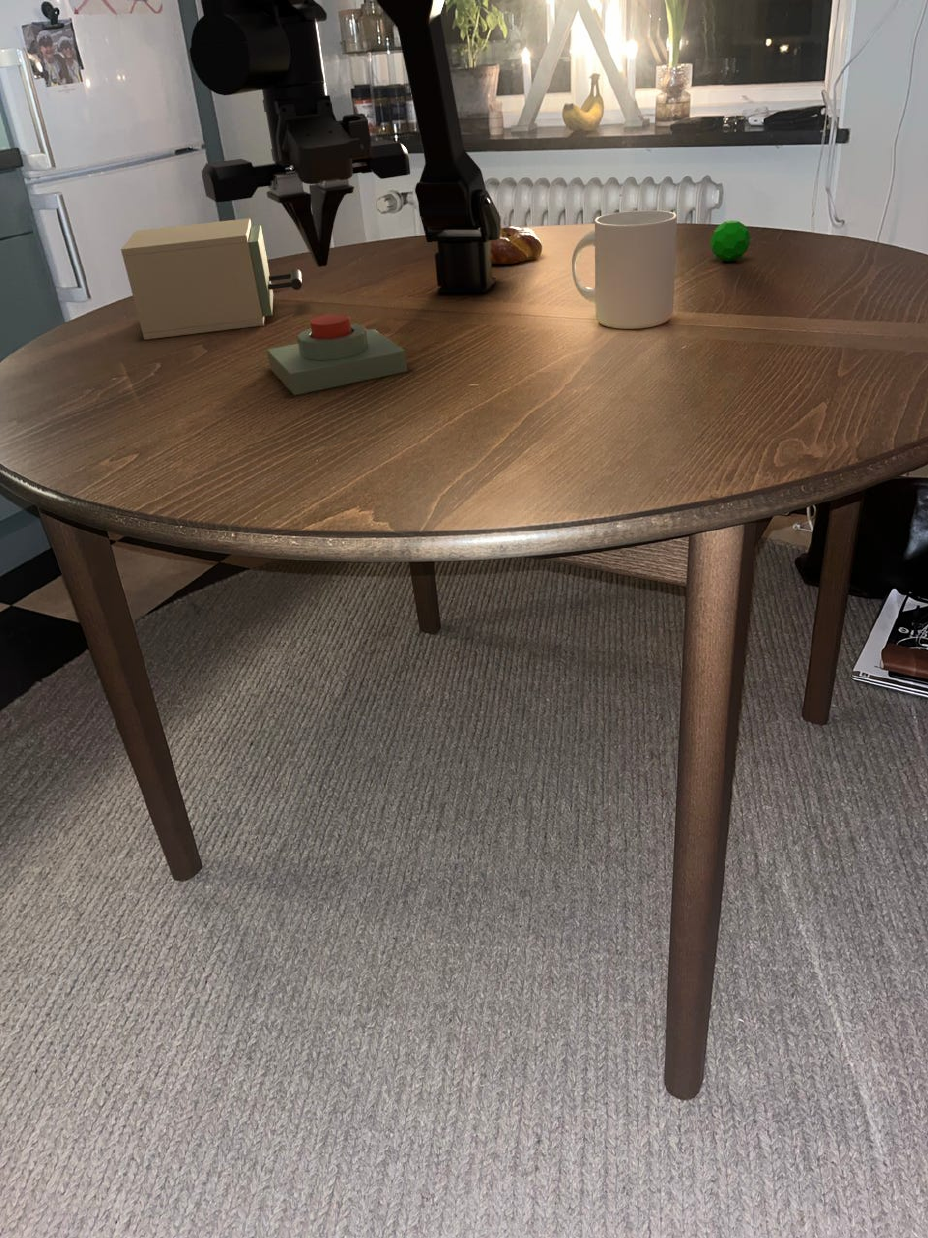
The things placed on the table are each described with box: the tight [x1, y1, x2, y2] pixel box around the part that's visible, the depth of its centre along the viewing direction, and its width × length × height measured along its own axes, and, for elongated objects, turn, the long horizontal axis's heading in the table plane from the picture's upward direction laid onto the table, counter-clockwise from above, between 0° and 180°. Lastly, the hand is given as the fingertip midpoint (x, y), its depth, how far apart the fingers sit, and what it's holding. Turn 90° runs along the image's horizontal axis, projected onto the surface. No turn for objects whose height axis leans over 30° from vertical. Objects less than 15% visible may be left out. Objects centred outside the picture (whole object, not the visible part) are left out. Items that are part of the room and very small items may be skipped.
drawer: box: [248, 224, 303, 318], centre depth 119 cm, size 18×11×9 cm, turn 99°
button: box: [309, 313, 352, 339], centre depth 96 cm, size 4×4×2 cm
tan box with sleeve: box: [120, 217, 265, 341], centre depth 118 cm, size 15×13×11 cm
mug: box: [571, 209, 678, 330], centre depth 104 cm, size 9×12×11 cm
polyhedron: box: [710, 220, 751, 262], centre depth 125 cm, size 5×5×5 cm
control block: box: [266, 322, 408, 396], centre depth 97 cm, size 12×10×4 cm
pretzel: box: [490, 226, 543, 265], centre depth 137 cm, size 12×11×4 cm
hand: (321, 265), depth 93 cm, fingers closed
